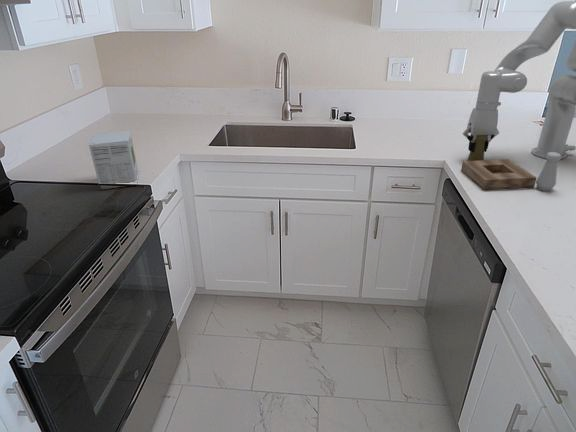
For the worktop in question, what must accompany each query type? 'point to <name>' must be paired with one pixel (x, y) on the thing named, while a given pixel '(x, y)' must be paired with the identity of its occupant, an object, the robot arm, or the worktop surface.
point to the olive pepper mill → (478, 148)
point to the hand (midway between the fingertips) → (477, 150)
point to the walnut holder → (498, 174)
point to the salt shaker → (548, 172)
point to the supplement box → (114, 157)
